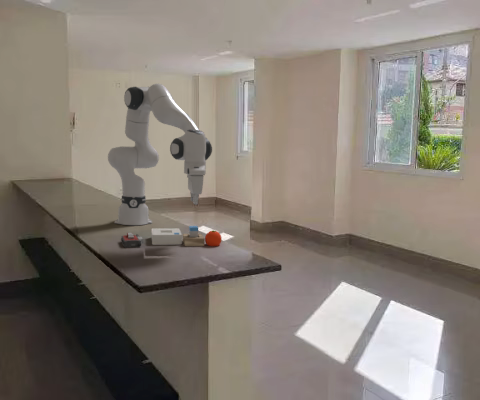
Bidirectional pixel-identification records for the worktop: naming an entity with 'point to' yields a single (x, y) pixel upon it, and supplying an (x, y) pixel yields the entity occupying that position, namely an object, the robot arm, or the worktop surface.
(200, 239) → the holster
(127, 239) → the walkie-talkie
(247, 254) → the worktop surface
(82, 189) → the worktop surface
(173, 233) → the port
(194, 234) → the plug
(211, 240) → the clementine
